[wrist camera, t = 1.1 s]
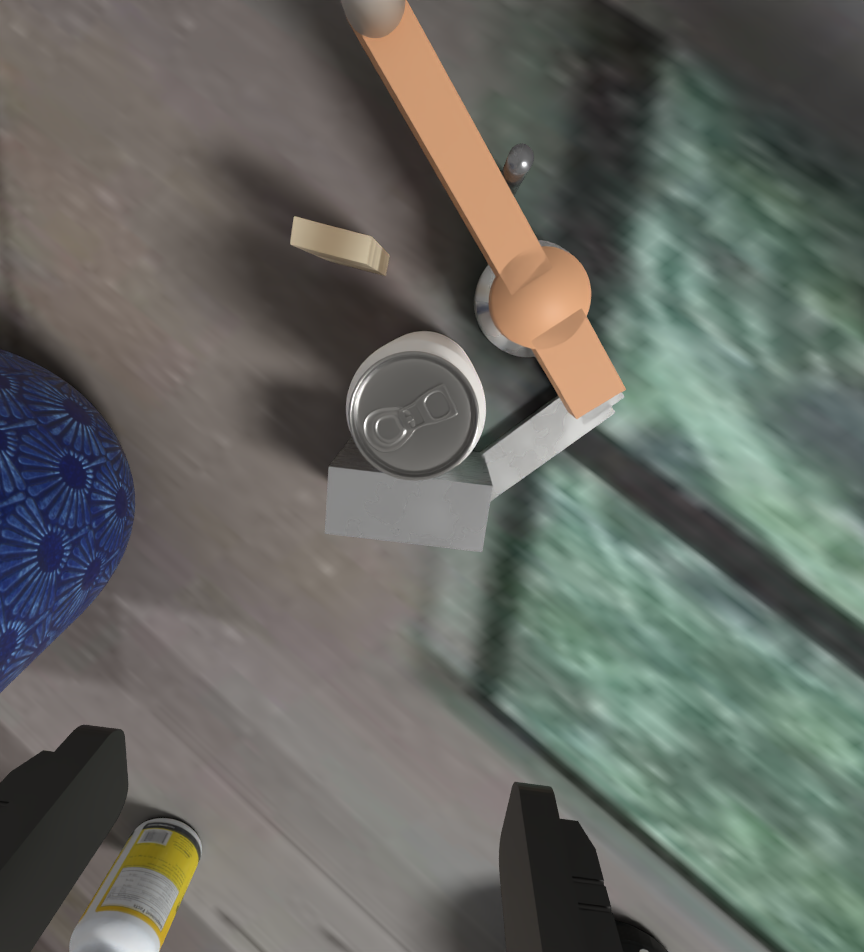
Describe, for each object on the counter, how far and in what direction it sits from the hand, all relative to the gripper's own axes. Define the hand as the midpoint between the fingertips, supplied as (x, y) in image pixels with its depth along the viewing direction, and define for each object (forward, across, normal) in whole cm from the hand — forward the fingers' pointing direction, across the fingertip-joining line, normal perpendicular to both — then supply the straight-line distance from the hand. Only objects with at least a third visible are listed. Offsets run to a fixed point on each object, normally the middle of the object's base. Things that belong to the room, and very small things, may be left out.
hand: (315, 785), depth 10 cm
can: (+26, 0, -5) cm, 26 cm away
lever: (+23, -3, -14) cm, 27 cm away
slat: (+26, +4, -12) cm, 28 cm away
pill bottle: (+25, +17, +39) cm, 50 cm away
